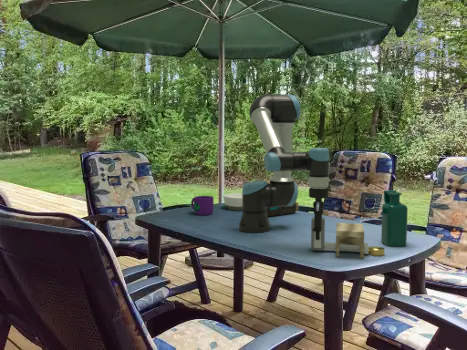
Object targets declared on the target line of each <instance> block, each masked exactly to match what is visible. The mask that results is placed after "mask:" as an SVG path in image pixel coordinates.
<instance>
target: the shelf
mask: <svg viewBox="0 0 467 350" xmlns="http://www.w3.org/2000/svg"><path fill="white" fill-rule="evenodd" d="M335 231H336V234H335V235H336V236H335V237H336V238H335V243H336V251H335V257H336V258H340V251H339V243H349V244H360V252H359V258H360V259H362V260H363V259H364V257H365V256H364V255H365V254H364V243H365V229H364V224H363V223H350V222H349V223H348V222H336V229H335Z"/></svg>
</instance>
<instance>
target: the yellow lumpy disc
mask: <svg viewBox="0 0 467 350" xmlns="http://www.w3.org/2000/svg"><path fill="white" fill-rule="evenodd" d="M368 247H369V253H368V254H367V255H369V256H372V257H384V256H385V247H381V246H375V245H372V246H368Z"/></svg>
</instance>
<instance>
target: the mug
mask: <svg viewBox="0 0 467 350" xmlns="http://www.w3.org/2000/svg"><path fill="white" fill-rule="evenodd" d="M190 205H191V208H192V209H193V210H194V213H195V215H197V216H210V215H212V214H213V213H214V196H211V195H198V196H197V195H196V196H195V197H193V198H192V199H191V201H190Z"/></svg>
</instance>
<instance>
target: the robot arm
mask: <svg viewBox="0 0 467 350" xmlns="http://www.w3.org/2000/svg"><path fill="white" fill-rule="evenodd" d="M248 111H249V113H248V114H249V118H250V121H251V123H252V124H254V126H255V127H256V130H257V132H258V135H259V138H260V141H261V143H262V145H263V147H264V150H265V155H264V157H263V163H264V169H265V170H266V171H268V172H272V176H271V177H270V178H269V183H268V182H267V181H266V180H252V181H249V182H245V183H244V184H243V186H242V192H241V193H242V209H243V211H241V212H242V214H241V217H240V220H239V223H238V230H239V231H240V232H243V233H244V232H245V233H251V234H254V233H256V234H257V233H265V232H269V231H270V230H271V223H270V221H269V217H267V213H266V209H267V207H286V206H292V205H294V204H295V202H297V199H298V198H299V197H298V196H299V188H298V184H297V183H296V182H295V181H294V178H293V177H292V171H294V172H295V171H296V172H298V171H309V172H308V173H309V175H308V186H309V188H308V197H309V198H311V199H314V200H315V201H313V202H312V207H313V215H314V216H313V218H314V230H312V231H314V248H321V218H323V212H324V205H325V204H324V201H323V199H328V197H329V192H330V191H329V188H328V187H329V182H331V179H330V178H329V175H330V171H329V170H330V150H329V148H327V147H311V148H310V149H309V151H296V152H295V151H294V152H293V151H292V147H293V146H292V142H293V126H294V125H295V124H296V121H297V120H298V119H299V118H300V116H301V104H300V101H299V99H298V97H297V96H296V95H294V94H286V93H285V94H283V93H282V94H281V93H280V94H278V93H277V94H275V93H274V94H267V93H265V94H261V95H259V96H257V97H256V98H255V99H254V100H253V101H252V102H251V104H250V107H249V110H248Z"/></svg>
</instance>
